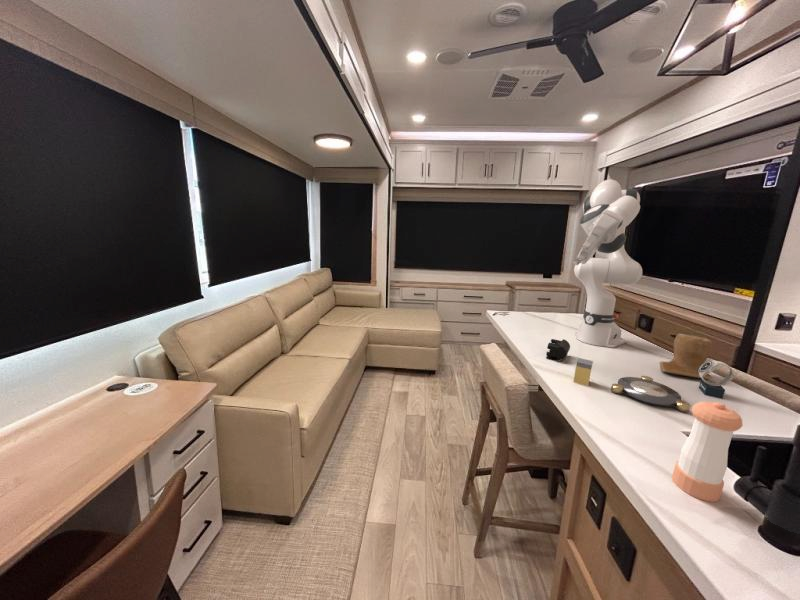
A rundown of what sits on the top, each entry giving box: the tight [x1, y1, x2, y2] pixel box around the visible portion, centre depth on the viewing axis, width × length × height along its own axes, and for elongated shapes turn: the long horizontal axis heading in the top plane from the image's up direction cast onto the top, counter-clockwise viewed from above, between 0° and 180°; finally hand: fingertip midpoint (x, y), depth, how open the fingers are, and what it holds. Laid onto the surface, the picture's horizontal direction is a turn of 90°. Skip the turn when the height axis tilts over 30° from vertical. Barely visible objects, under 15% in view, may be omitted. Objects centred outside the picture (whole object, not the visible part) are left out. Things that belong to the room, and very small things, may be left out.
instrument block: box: [572, 357, 594, 387], centre depth 107 cm, size 4×4×8 cm
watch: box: [698, 360, 735, 399], centre depth 101 cm, size 6×8×11 cm
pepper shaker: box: [671, 401, 743, 503], centre depth 62 cm, size 7×7×19 cm
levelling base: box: [610, 375, 691, 413], centre depth 98 cm, size 19×19×2 cm
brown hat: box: [659, 333, 713, 380], centre depth 115 cm, size 15×12×15 cm
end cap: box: [545, 338, 571, 362], centre depth 127 cm, size 10×7×7 cm
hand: (580, 255), depth 105 cm, fingers open, 8 cm apart
